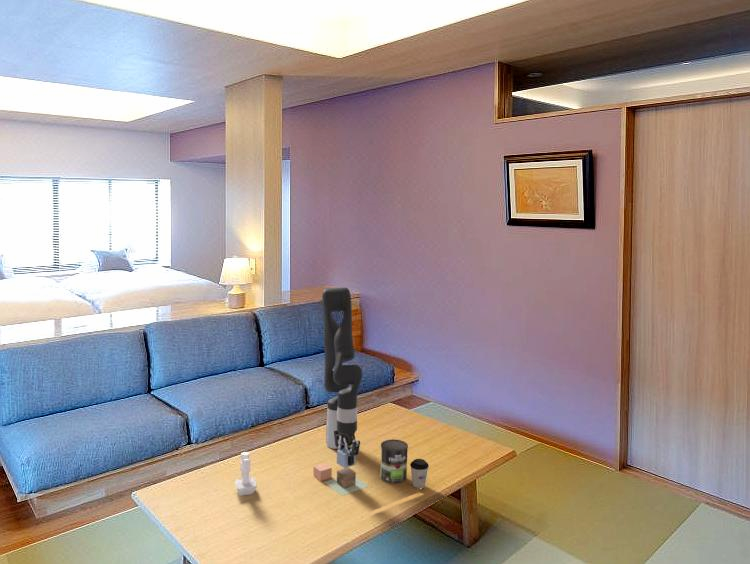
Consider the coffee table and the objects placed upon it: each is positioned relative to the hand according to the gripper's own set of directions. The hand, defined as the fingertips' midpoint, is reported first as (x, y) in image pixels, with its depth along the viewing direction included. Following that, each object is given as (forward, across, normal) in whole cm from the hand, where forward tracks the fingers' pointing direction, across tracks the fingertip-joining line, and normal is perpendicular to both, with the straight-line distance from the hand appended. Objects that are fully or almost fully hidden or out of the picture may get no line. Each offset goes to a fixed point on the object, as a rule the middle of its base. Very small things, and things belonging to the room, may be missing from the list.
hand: (346, 461), depth 213 cm
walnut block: (+9, 0, 0) cm, 9 cm away
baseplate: (+10, 0, 0) cm, 10 cm away
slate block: (+1, 0, 0) cm, 1 cm away
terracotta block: (+10, -10, -4) cm, 15 cm away
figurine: (+10, -18, -32) cm, 38 cm away
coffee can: (+10, +6, +18) cm, 22 cm away
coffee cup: (+10, +16, +22) cm, 29 cm away
